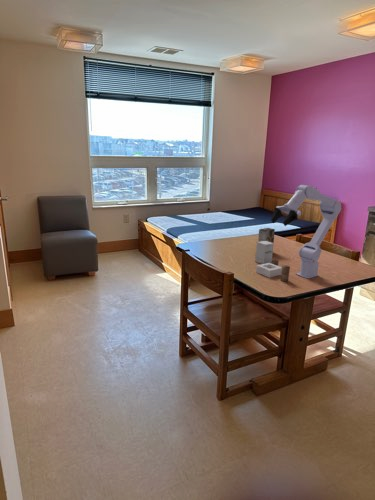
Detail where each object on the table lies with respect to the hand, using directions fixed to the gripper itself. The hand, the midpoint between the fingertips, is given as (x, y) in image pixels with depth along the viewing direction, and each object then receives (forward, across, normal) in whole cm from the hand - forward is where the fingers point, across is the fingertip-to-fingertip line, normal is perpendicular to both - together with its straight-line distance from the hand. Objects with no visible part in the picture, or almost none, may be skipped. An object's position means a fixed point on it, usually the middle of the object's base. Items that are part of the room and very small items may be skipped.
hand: (278, 223), depth 168 cm
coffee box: (-10, -44, +51) cm, 68 cm away
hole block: (+12, -13, +32) cm, 37 cm away
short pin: (+4, -19, +39) cm, 44 cm away
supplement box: (+3, -29, +40) cm, 50 cm away
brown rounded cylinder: (+13, -1, +31) cm, 34 cm away
